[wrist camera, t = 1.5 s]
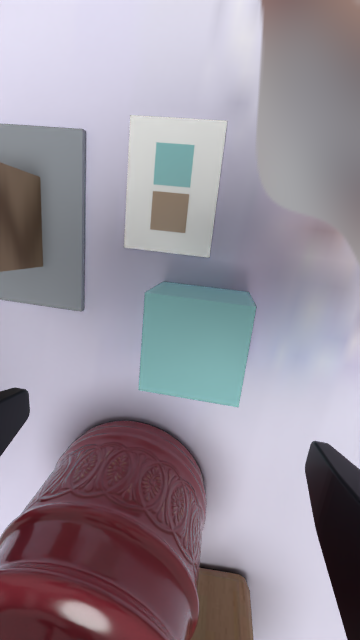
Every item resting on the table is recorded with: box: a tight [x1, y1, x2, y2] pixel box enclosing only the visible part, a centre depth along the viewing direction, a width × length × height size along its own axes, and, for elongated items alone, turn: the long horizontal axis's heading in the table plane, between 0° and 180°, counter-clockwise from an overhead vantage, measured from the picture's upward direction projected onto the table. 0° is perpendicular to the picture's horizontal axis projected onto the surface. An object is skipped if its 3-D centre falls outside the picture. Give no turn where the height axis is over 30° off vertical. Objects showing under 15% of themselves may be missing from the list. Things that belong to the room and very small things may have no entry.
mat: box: [0, 124, 86, 311], centre depth 20 cm, size 12×12×1 cm
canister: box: [0, 421, 206, 640], centre depth 17 cm, size 13×13×18 cm
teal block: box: [139, 282, 256, 407], centre depth 18 cm, size 6×6×5 cm
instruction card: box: [124, 115, 227, 258], centre depth 18 cm, size 8×6×1 cm
